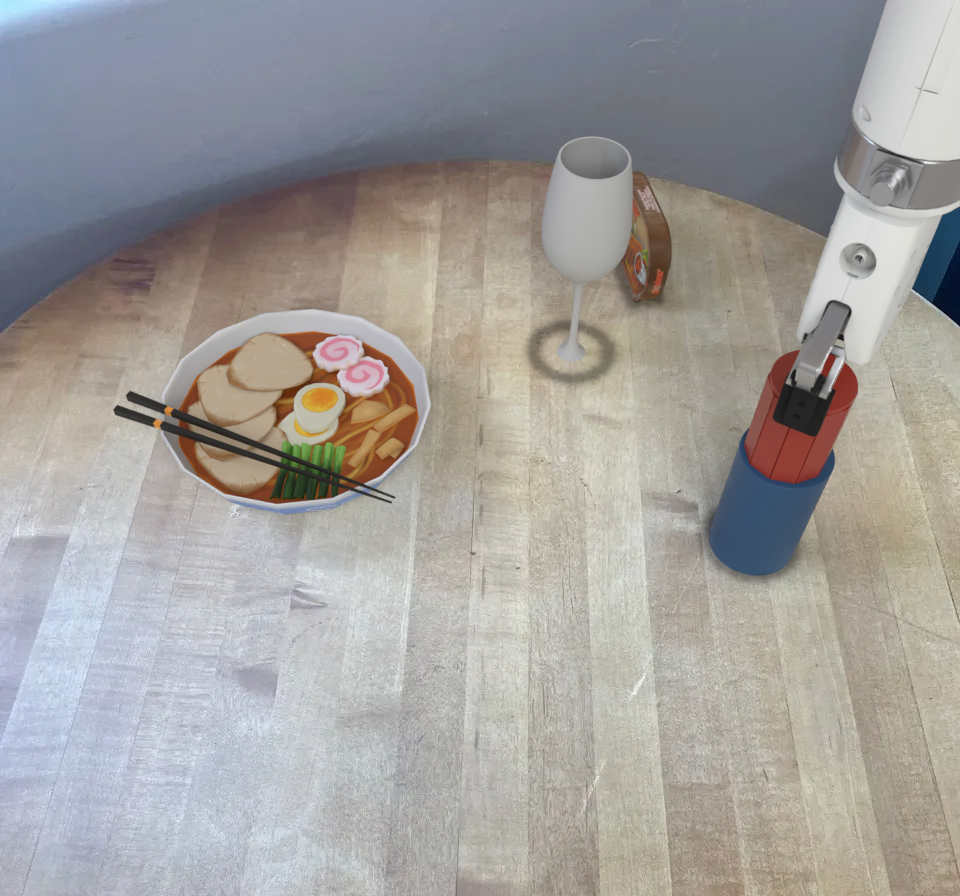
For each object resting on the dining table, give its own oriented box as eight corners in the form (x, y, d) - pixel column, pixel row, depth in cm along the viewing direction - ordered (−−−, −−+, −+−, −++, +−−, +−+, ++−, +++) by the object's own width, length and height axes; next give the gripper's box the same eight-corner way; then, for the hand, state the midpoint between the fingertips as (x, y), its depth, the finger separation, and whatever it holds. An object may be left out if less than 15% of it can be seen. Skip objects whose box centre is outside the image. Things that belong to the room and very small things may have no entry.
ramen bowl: (485, 419, 93) (487, 351, 86) (370, 603, 82) (361, 544, 75) (255, 338, 98) (239, 268, 91) (117, 502, 87) (87, 437, 80)
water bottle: (803, 536, 86) (878, 380, 71) (771, 595, 83) (842, 445, 67) (727, 502, 88) (783, 342, 72) (692, 558, 85) (744, 404, 69)
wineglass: (521, 375, 96) (535, 175, 78) (544, 324, 100) (562, 122, 82) (597, 394, 95) (628, 196, 77) (617, 342, 98) (652, 141, 80)
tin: (598, 225, 108) (608, 153, 101) (626, 223, 108) (638, 150, 101) (634, 319, 100) (648, 248, 93) (664, 316, 100) (680, 244, 93)
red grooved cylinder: (837, 441, 76) (871, 368, 70) (807, 495, 73) (839, 424, 67) (764, 411, 77) (791, 336, 71) (731, 462, 75) (756, 390, 68)
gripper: (926, 265, 50) (827, 486, 65) (1023, 94, 57) (914, 326, 72) (786, 216, 52) (720, 441, 67) (897, 57, 59) (816, 290, 74)
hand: (821, 381), depth 69 cm, fingers open, 9 cm apart
